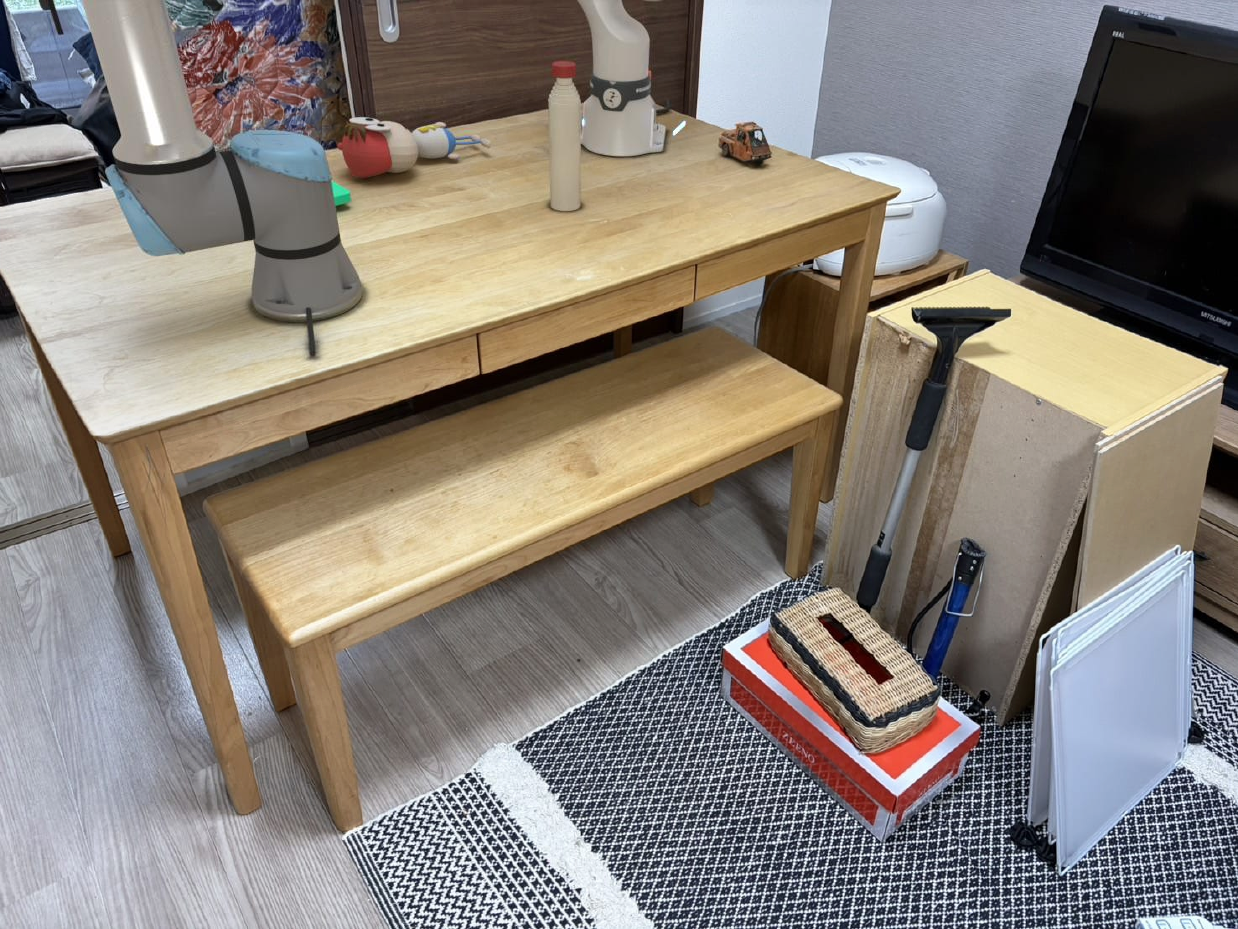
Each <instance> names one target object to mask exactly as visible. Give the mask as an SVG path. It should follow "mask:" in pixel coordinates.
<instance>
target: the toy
mask: <svg viewBox="0 0 1238 929" xmlns="http://www.w3.org/2000/svg"><path fill="white" fill-rule="evenodd" d="M446 127H447V124H446V123H445V122H441V121H437V122H435V123H432V124H429V125H424V126H420V127H417V128H416V129H414V130H413V131H412V132H411V131H410V130H409V128H407V126H406V125H404V124H401V123H399V122H395V121H393V120H391V121H390V120H382V121H381V120H378V119H376V118H372V117H364V116H358V117H352V118H349V122H348V123H346V124H345V126H344V128H343V130H344V131H343V133H344V135H343V137H342V142H338V143H337V144H336V147H337V150H339V151H341V152H342V157H343V160H344V162H345V165H346V166H347V169H348V170H349V173H350V174H351V175H352V176H353V177H355V178H358V179H366V178H367V179H368V178H371V177H375V176H379V175H382V174H386V173H387V172H388V173H391V174H392V173H393V174H398V173H403V172H406V171H409V170H410V169H411V168H412V167H414V165H415V164H416V162H417V160H418V157H420V158H425V159H441V158H444V157H447V158H448V159H449V160H458V159H459V158H460V155H459V154H458V153H454V151H455V150H456V147H457V146H466V145H468V146H469V145H477V144H481V146H483V148H486V149H490V148H491V147H492V142H491V140H489V139H486V138H481V136H479V135H478V134H476V133H474V134H470V136H458V137H456V136H454V133H452V132H451V131H450V130H449V129H447V128H446ZM463 140H471V141H463Z"/></svg>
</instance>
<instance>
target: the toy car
mask: <svg viewBox="0 0 1238 929" xmlns="http://www.w3.org/2000/svg"><path fill="white" fill-rule="evenodd" d="M734 126H736V127H735V128H733V129H727V130H723V132H721V134H720V137H719V138H718V143H717V144H718V145H717V146H718V147H719V148H720V149H721V152H722V154H723V156H726V157H731V158H734V159H736V160H739V161H741V162H743V163H746V164H748V163H753V162H754V164H755V165H756V166H758V167H762V165H763V163H764V161H767V160H769V159H771V158H773V157H772V154H773V152H772V151H771V148H770V145H769V143H768V141H767V138H766V135H765V133H764V128H763V127H761V126H759V125H758V124H757V123H756V122H755V121H745V122H739V123H735V124H734ZM756 132H760V133H761V139H759V133H756ZM756 135H757V137H756Z"/></svg>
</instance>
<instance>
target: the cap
mask: <svg viewBox="0 0 1238 929" xmlns="http://www.w3.org/2000/svg"><path fill="white" fill-rule="evenodd" d="M576 65H577V64H576V63H575V62H574V61H569V60H558V61H554V62H552V65H551V66H552V67H551V68H552V69H551V72H552V76H553V77H554V78H563V79H567V78H572V79H574V78H575V77H576V76H577V66H576Z"/></svg>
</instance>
